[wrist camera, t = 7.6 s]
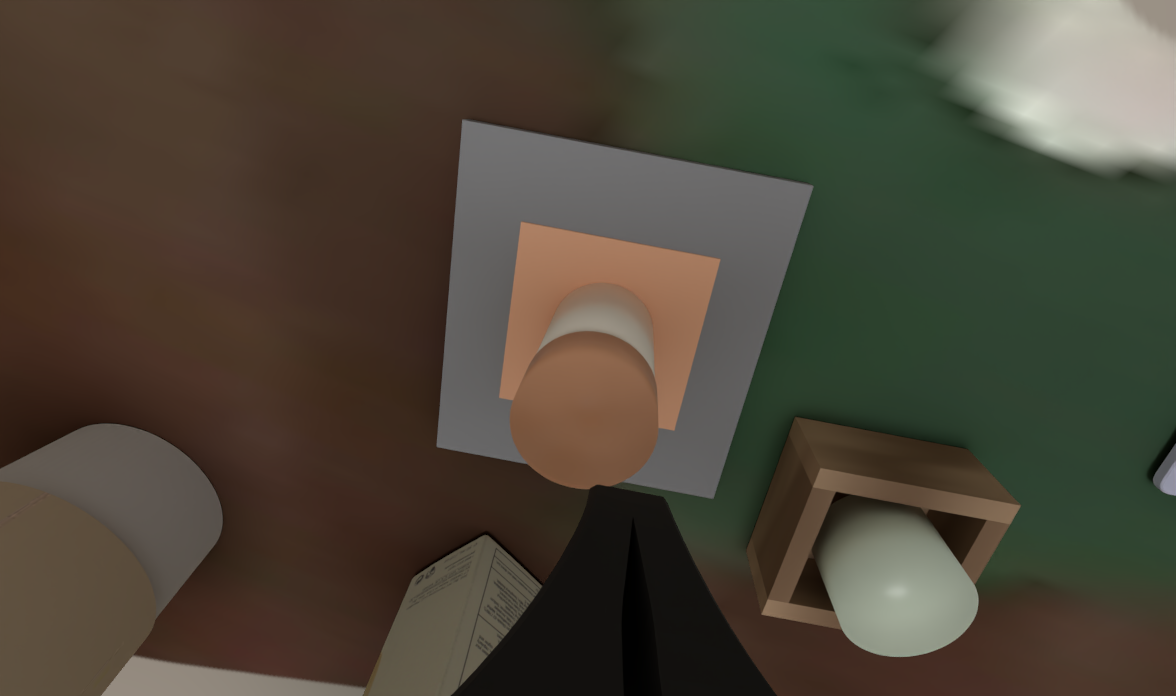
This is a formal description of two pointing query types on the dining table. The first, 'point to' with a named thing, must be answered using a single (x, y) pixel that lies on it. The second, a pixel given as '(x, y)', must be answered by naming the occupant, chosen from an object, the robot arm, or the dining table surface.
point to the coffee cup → (94, 554)
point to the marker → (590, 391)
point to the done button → (892, 578)
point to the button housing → (875, 470)
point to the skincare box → (452, 621)
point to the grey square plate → (612, 282)
